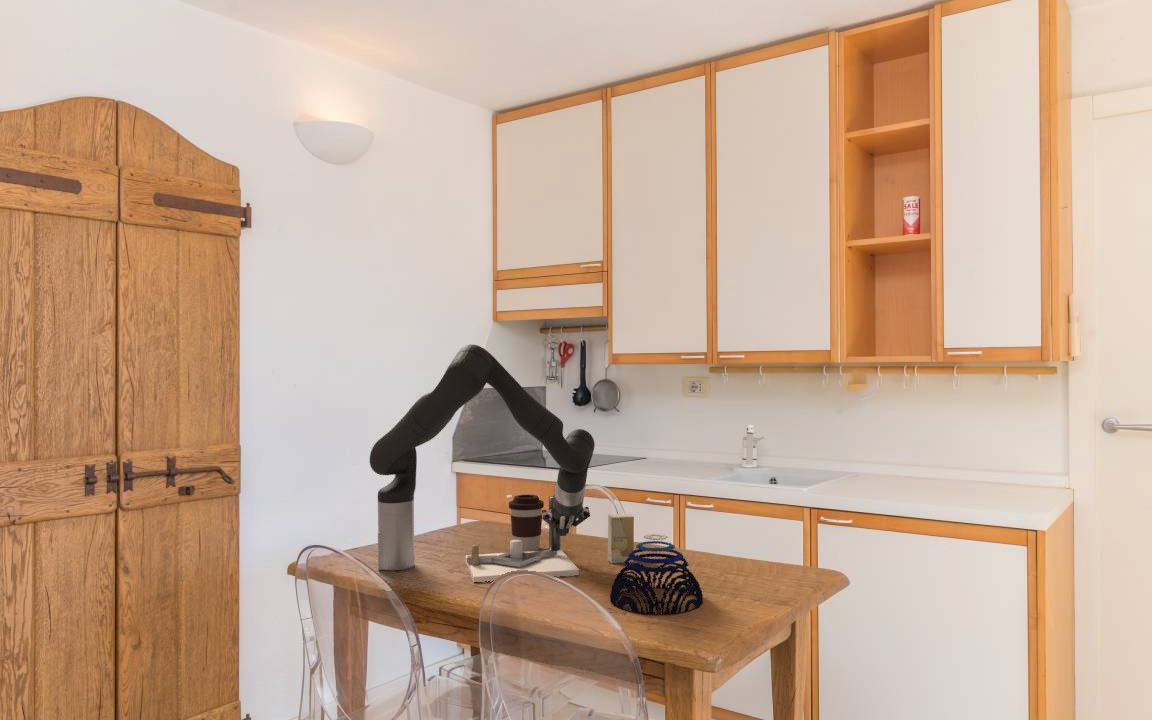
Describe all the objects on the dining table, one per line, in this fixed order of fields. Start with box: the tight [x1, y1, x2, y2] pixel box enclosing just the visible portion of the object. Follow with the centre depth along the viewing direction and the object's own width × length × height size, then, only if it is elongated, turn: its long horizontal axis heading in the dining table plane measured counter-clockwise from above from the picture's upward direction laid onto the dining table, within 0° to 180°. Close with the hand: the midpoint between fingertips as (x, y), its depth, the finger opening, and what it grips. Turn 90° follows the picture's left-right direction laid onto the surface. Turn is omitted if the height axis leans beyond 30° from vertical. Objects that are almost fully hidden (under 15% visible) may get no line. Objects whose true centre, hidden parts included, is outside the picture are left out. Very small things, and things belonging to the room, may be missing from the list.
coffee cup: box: [508, 494, 545, 552], centre depth 227 cm, size 10×10×15 cm
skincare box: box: [607, 513, 635, 564], centre depth 212 cm, size 6×4×12 cm
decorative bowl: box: [609, 533, 704, 616], centre depth 177 cm, size 20×20×14 cm
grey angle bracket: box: [467, 495, 562, 567], centre depth 209 cm, size 20×17×15 cm
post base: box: [465, 539, 580, 583], centre depth 206 cm, size 26×22×7 cm
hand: (562, 533), depth 212 cm, fingers closed
